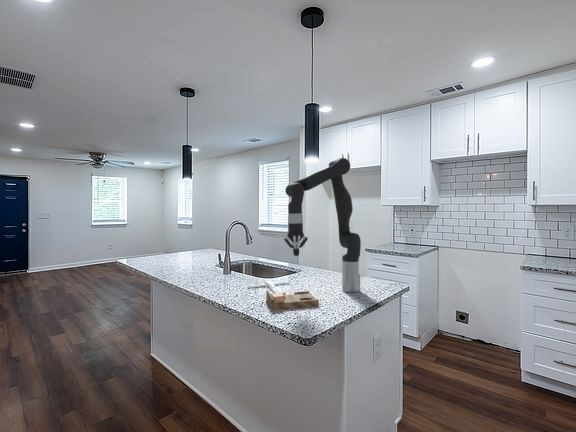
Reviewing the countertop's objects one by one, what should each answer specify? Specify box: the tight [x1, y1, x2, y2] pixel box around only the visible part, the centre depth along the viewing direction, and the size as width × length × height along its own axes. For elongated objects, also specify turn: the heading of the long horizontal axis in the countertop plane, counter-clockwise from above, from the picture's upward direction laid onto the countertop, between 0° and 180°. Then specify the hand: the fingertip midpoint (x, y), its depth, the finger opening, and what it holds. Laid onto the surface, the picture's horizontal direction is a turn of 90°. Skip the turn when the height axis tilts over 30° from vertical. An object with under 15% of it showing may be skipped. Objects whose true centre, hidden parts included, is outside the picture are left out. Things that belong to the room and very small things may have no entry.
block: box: [271, 293, 284, 303], centre depth 146 cm, size 5×5×4 cm
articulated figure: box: [247, 279, 291, 295], centre depth 177 cm, size 27×4×30 cm
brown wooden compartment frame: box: [265, 290, 320, 311], centre depth 153 cm, size 23×16×5 cm
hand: (296, 255), depth 157 cm, fingers closed
